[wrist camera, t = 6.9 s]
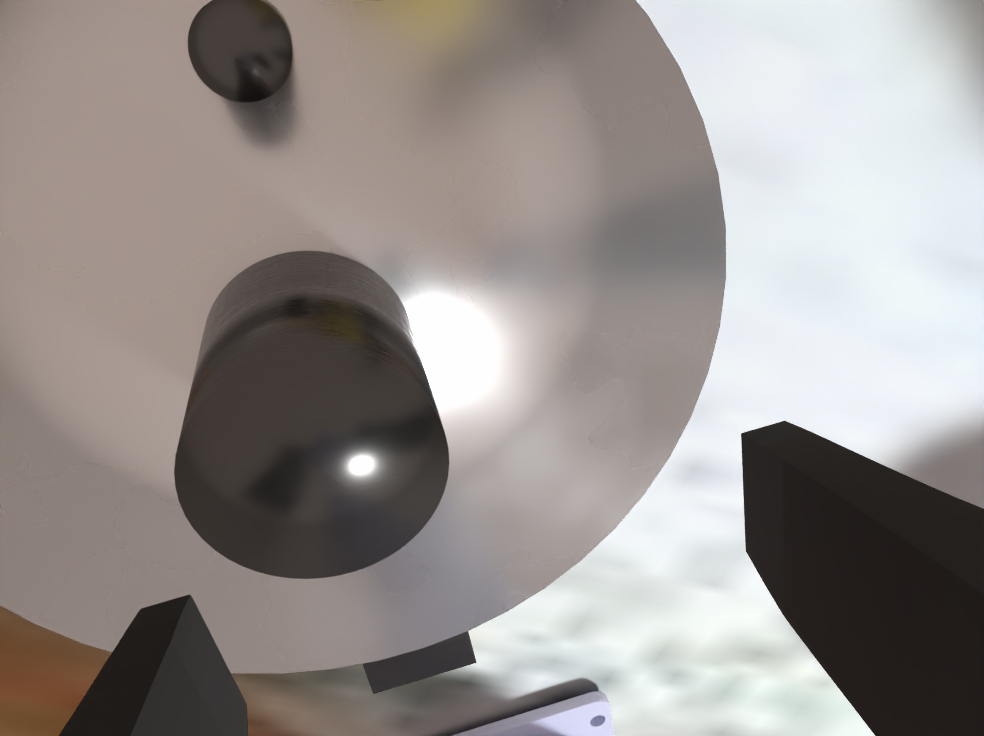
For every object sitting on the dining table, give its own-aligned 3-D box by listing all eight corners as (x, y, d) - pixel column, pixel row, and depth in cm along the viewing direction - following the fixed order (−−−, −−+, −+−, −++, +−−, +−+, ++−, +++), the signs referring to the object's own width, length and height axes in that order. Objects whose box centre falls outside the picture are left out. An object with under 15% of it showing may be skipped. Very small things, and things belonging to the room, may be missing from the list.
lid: (691, 559, 18) (797, 723, 14) (15, 711, 16) (-70, 950, 12) (727, -218, 11) (947, -300, 7) (-447, -134, 9) (-972, -191, 5)
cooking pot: (631, 484, 23) (710, 609, 19) (157, 619, 22) (123, 789, 17) (537, -370, 14) (649, -512, 9) (-298, -232, 12) (-615, -328, 8)
